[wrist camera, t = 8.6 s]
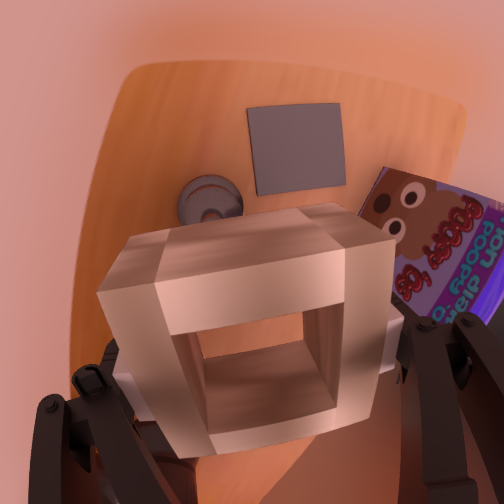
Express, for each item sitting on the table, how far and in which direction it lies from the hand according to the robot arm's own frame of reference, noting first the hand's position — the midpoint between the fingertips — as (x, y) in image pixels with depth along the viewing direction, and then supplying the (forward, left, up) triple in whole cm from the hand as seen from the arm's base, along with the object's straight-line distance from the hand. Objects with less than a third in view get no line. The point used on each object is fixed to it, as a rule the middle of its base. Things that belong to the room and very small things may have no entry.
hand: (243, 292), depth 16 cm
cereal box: (+20, -7, -24) cm, 32 cm away
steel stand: (-1, -1, -24) cm, 24 cm away
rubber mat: (+11, +5, -24) cm, 27 cm away
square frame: (0, 0, +2) cm, 2 cm away
